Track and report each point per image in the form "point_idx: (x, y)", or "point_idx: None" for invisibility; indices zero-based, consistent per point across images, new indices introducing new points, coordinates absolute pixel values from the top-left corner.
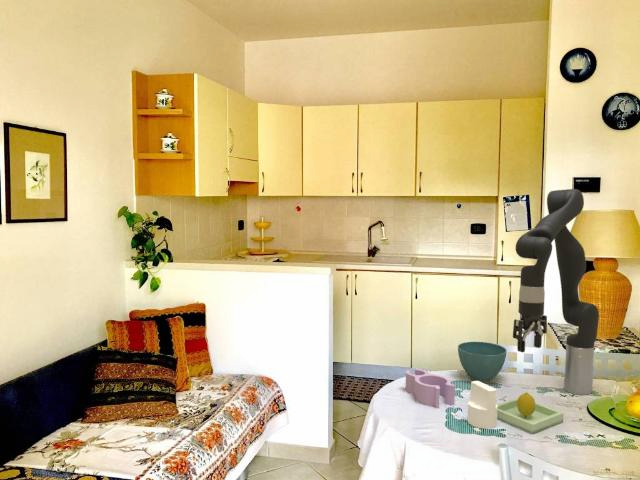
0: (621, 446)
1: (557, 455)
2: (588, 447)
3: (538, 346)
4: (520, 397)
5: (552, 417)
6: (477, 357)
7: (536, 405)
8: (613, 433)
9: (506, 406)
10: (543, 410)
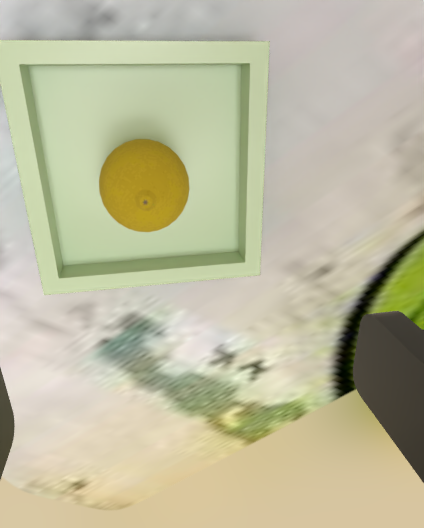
0: (235, 427)
1: None
2: (146, 402)
3: (363, 376)
4: (110, 182)
5: (183, 281)
6: None
7: (246, 159)
8: (300, 374)
9: (124, 64)
10: (242, 193)
